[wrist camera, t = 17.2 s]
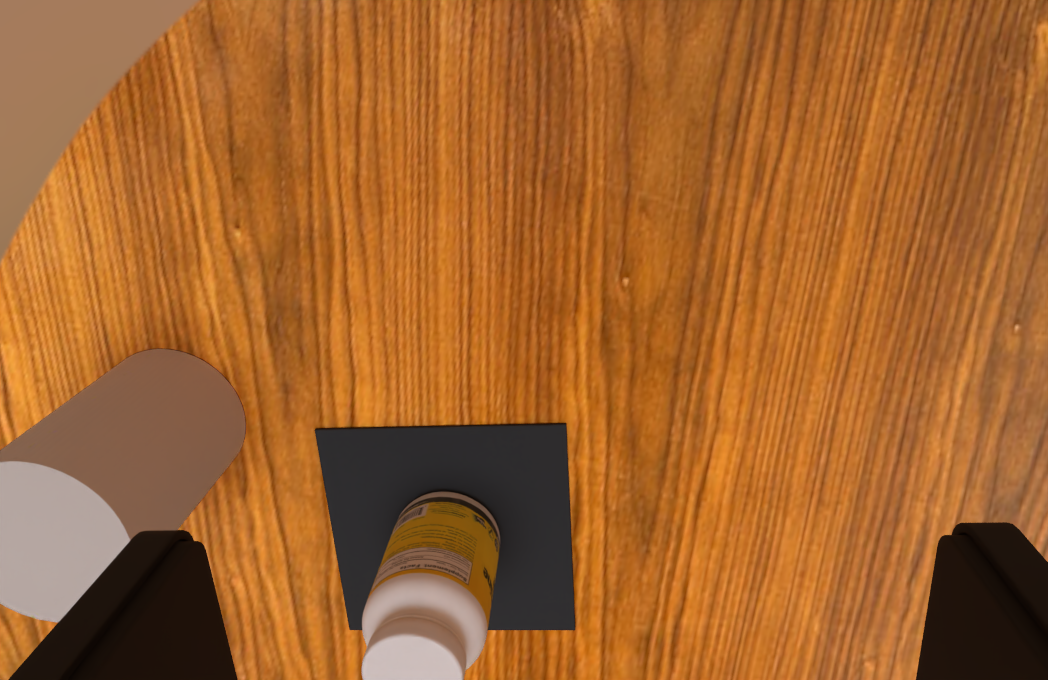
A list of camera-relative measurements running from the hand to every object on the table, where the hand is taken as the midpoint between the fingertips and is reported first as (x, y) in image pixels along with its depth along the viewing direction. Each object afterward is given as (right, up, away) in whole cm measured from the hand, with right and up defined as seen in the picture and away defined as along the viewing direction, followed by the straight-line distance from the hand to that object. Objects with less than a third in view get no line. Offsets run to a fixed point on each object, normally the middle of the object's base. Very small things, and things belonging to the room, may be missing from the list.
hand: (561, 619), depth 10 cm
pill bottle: (-5, -8, +36) cm, 37 cm away
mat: (-5, -8, +36) cm, 37 cm away
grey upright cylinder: (-20, -1, +35) cm, 40 cm away
